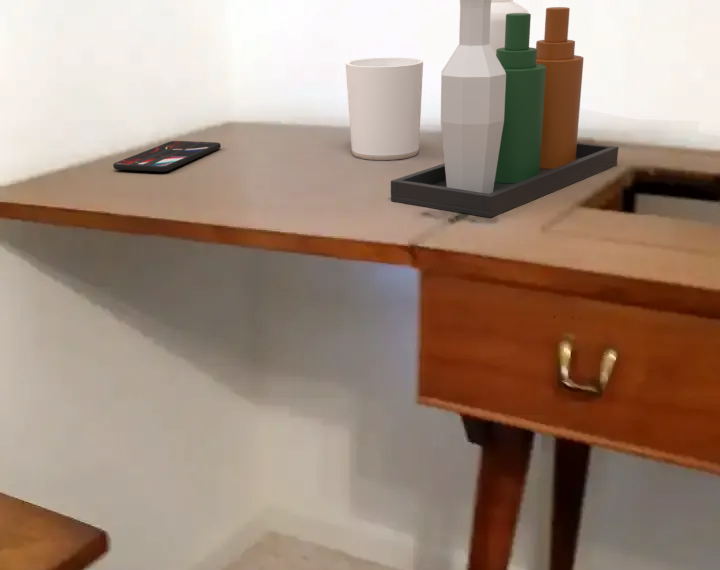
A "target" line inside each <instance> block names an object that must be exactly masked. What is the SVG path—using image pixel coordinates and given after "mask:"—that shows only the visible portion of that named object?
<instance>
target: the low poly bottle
mask: <svg viewBox="0 0 720 570" xmlns="http://www.w3.org/2000/svg"><path fill="white" fill-rule="evenodd" d="M490 11H491V0H459V30H460V39H459V38H458V39H459V41H458V45H457V47H456V48H455V50H454V51H453V53H452V55H451V56H450V58H449V59H448V61H447V62H446V64H445V66H444V67H443V68H442V70H441V71H440V73H441V75H440V76H441V78H440V79H441V81H440V128H441V139H442V140H441V141H442V148H443V149H442V151H443V160H444V162H443V163H445V172H446V183H447V187H448V188H455V189H461V190H468V191H474V192H481V193H487V194H489V193H492V192H493V188H494V181H495V175H496V168H497V162H498V156H499V149H500V143H501V137H502V130H503V124H504V111H505V88H506V72H505V70H504V68H503V67H502V65H501V63H500V62H499V60H498V58H497V56H496V55H495V53H494V51H493V50H492V48H491V46H490V44H489V38H490Z"/></svg>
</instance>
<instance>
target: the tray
mask: <svg viewBox="0 0 720 570" xmlns="http://www.w3.org/2000/svg"><path fill="white" fill-rule="evenodd" d="M619 148H620V147H619V146H614V145H606V144H596V143H595V144H594V143H587V142H580V141H579V142H578V141H577V149H576V160H575V161H573V162H570V163H567V164H565V165H562V166H560V167H557V168H554V169H540V174H539V175H536V176H534V177H531V178H528V179H526V180H523V181H521V182H518V183H515V184H504V183H495V182H494V188H493V192H492V193H489V194H487V193H481V192H474V191H468V190H461V189H455V188H448V187H447V183H446V172H445V162H443V163H441V164H437V165H435V166H432V167H429V168H426V169H423V170H419V171H416V172H414V173H410V174H407V175H404V176H401V177H398V178H395V179H392V180H390V201H391V202H394V203H395V202H396V203H401V204H408V205H413V206H419V207H426V208H430V209H437V210H444V211H449V212H453V213H455V212H456V213H460V214H465V215H466V214H467V215H472V216H478V217H482V218H488V219H491V218H493V217H496V216H498V215H501V214H503V213H506V212H508V211H510V210H513V209H515V208H518V207H520V206H522V205H524V204H527V203H529V202H531V201H534V200H536V199H539V198H542V197H544V196H546V195H548V194H549V195H550V194H551V193H554V192H556V191H558V190H560V189H563V188H565V187H567V186H570V185H572V184H575V183H577V182H579V181H582V180H584V179H586V178H589V177H592V176H594V175H597V174H599V173H601V172H603V171H606V170H609V169H611V168H613V167H616V166H617V165H618V157H619Z"/></svg>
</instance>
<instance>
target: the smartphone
mask: <svg viewBox="0 0 720 570" xmlns="http://www.w3.org/2000/svg"><path fill="white" fill-rule="evenodd" d="M221 146H222V145H221V143H220V142H217V141H216V142H215V141H214V142H213V141H193V140H192V141H189V140H171V141H167V142H164V143H162V144H160V145H158V146H154V147H152V148H149V149H147V150H144V151H142V152H139V153H137V154H134V155H132V156H129V157H126V158H123V159H121V160H119V161H116V162H114V163H113V165H112V166H113V169H115V170H117V171H118V170H119V171H139V172H158V173H159V172H160V173H165V172H169V171H171V170H173V169H176V168H178V167H180V166H183V165H185V164H187V163H189V162H191V161H195V160H196V159H198V158H200V157H203V156H205V155H208V154H211V153H212V152H214V151H217V150H219V149H221Z"/></svg>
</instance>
